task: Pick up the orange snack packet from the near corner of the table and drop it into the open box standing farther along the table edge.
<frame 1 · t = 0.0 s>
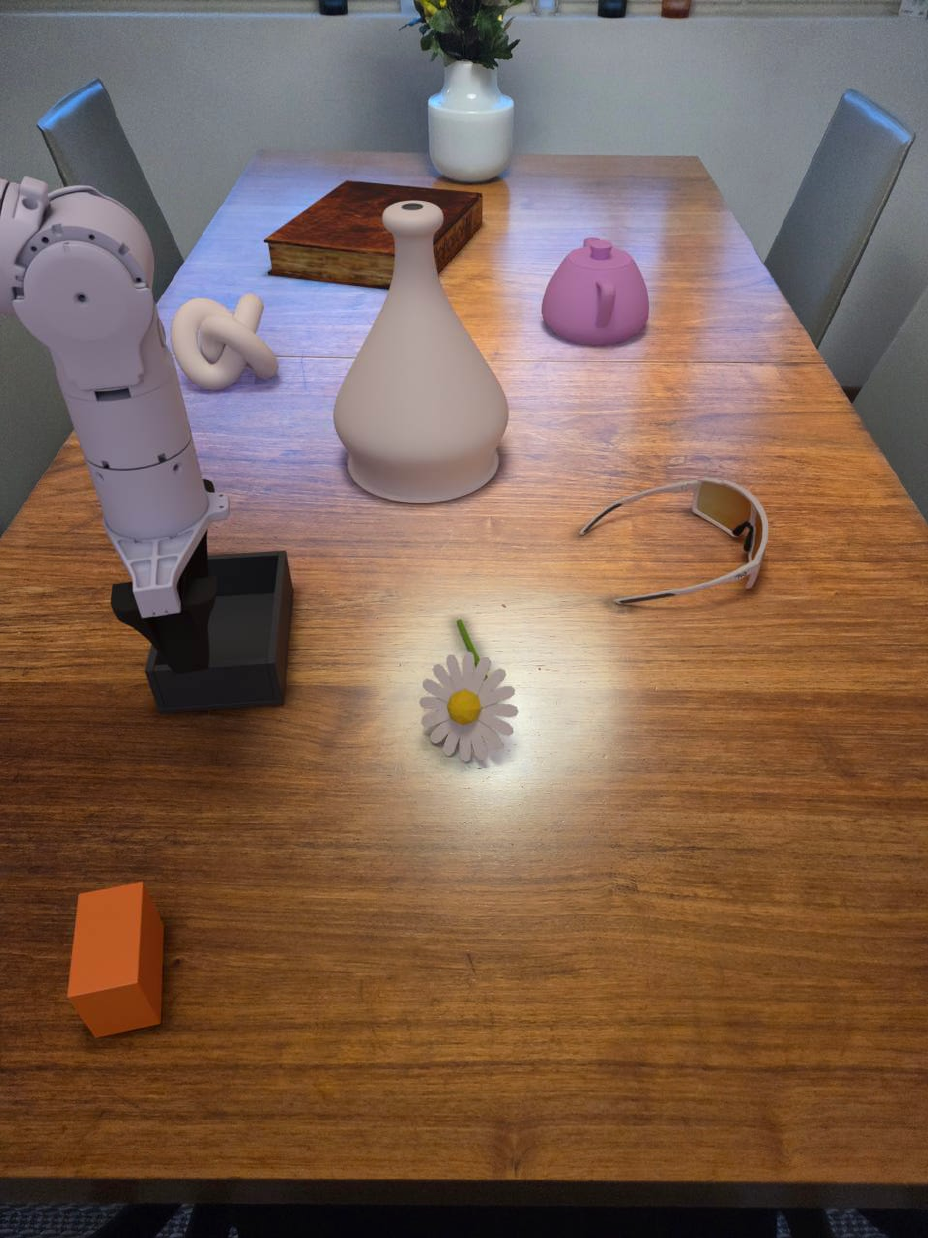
hand: (191, 626, 56), 11 cm above the table, tool pointing down, fingers open, 7 cm apart
teapot: (592, 324, 116), on the table
packet: (131, 979, 50), on the table
beige knot sculpture: (240, 379, 105), on the table
decorative flower: (451, 697, 66), on the table
book: (381, 249, 137), on the table
vase: (423, 462, 91), on the table
open box: (231, 648, 70), on the table
sunglasses: (673, 558, 79), on the table
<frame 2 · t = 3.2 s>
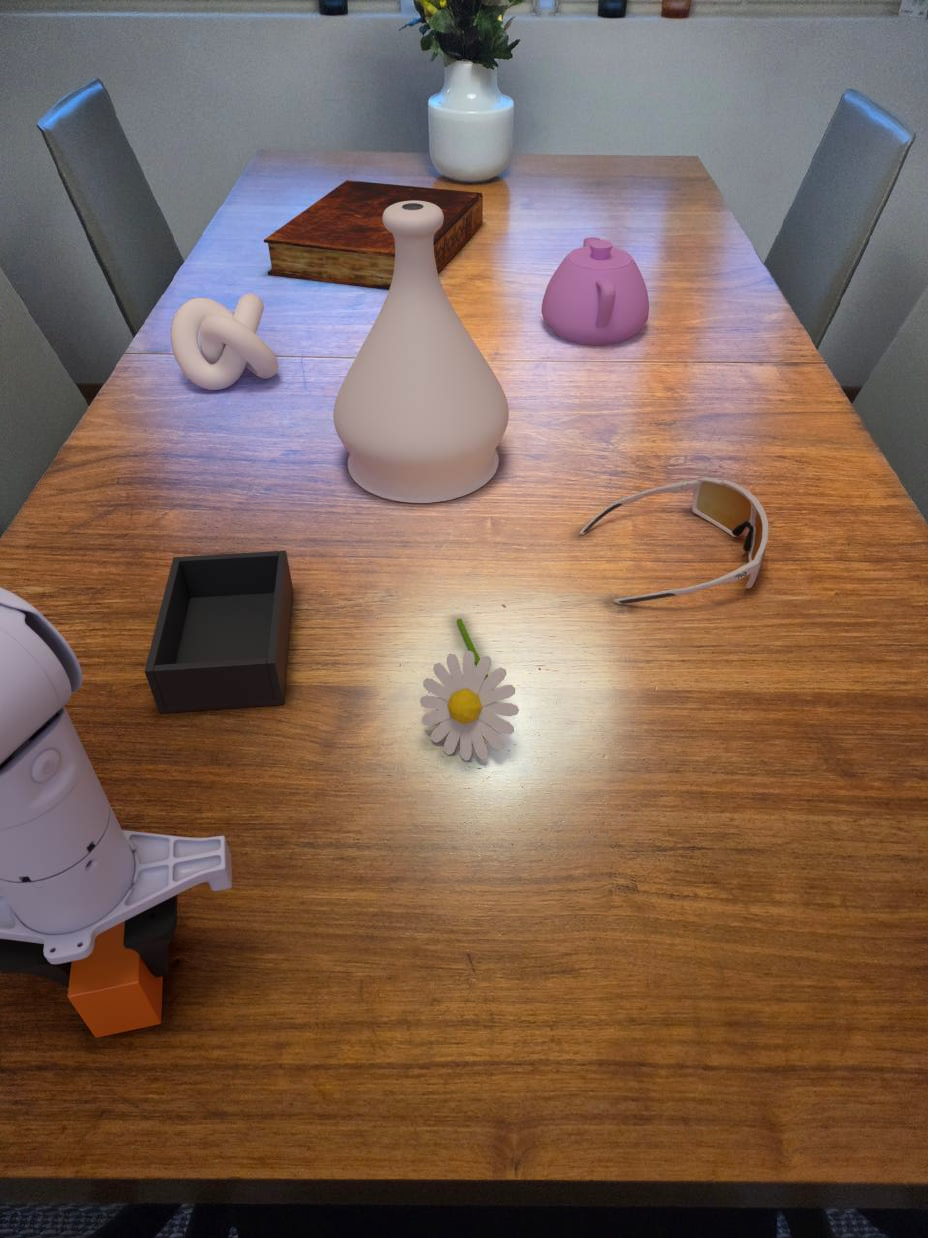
hand: (124, 968, 49), 1 cm above the table, tool pointing down, fingers closed on packet, 3 cm apart
packet: (131, 979, 50), on the table, touching gripper
everything else where it was.
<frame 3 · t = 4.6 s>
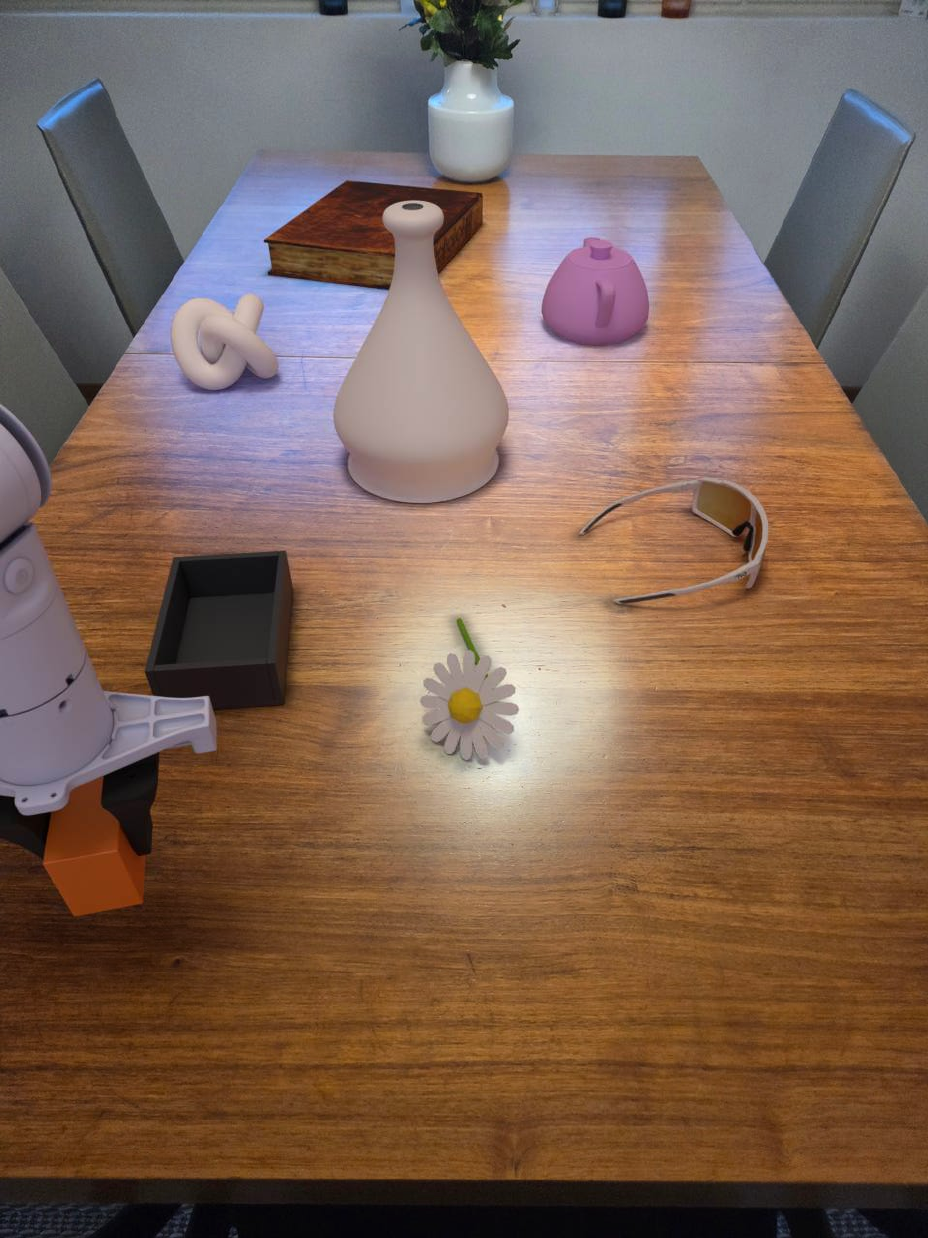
hand: (105, 846, 47), 8 cm above the table, tool pointing down, fingers closed on packet, 3 cm apart
packet: (113, 861, 48), point 7 cm above the table, touching gripper
everything else where it was.
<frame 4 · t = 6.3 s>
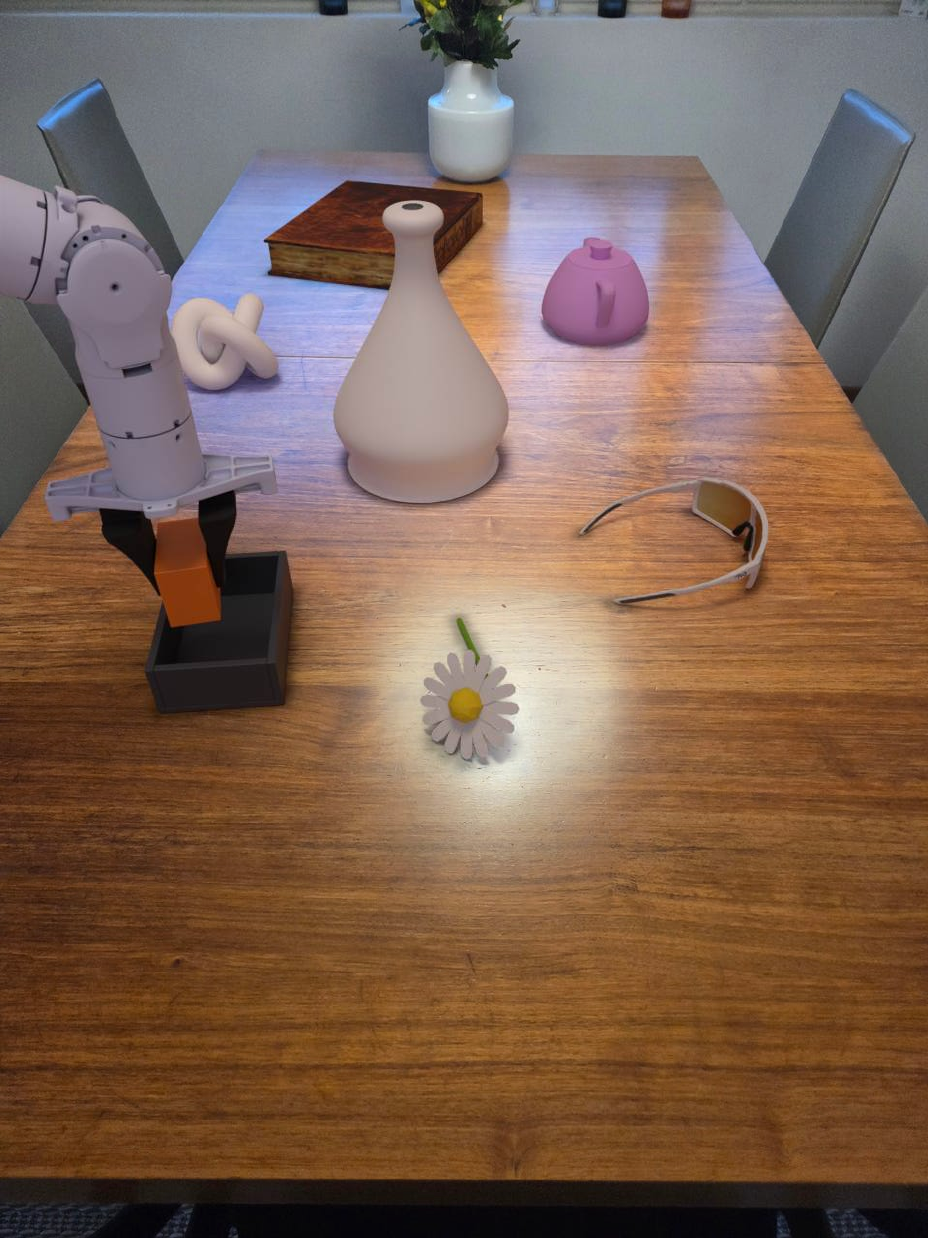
hand: (191, 582, 64), 8 cm above the table, tool pointing down, fingers closed on packet, 3 cm apart
packet: (196, 597, 65), point 7 cm above the table, touching gripper
everything else where it was.
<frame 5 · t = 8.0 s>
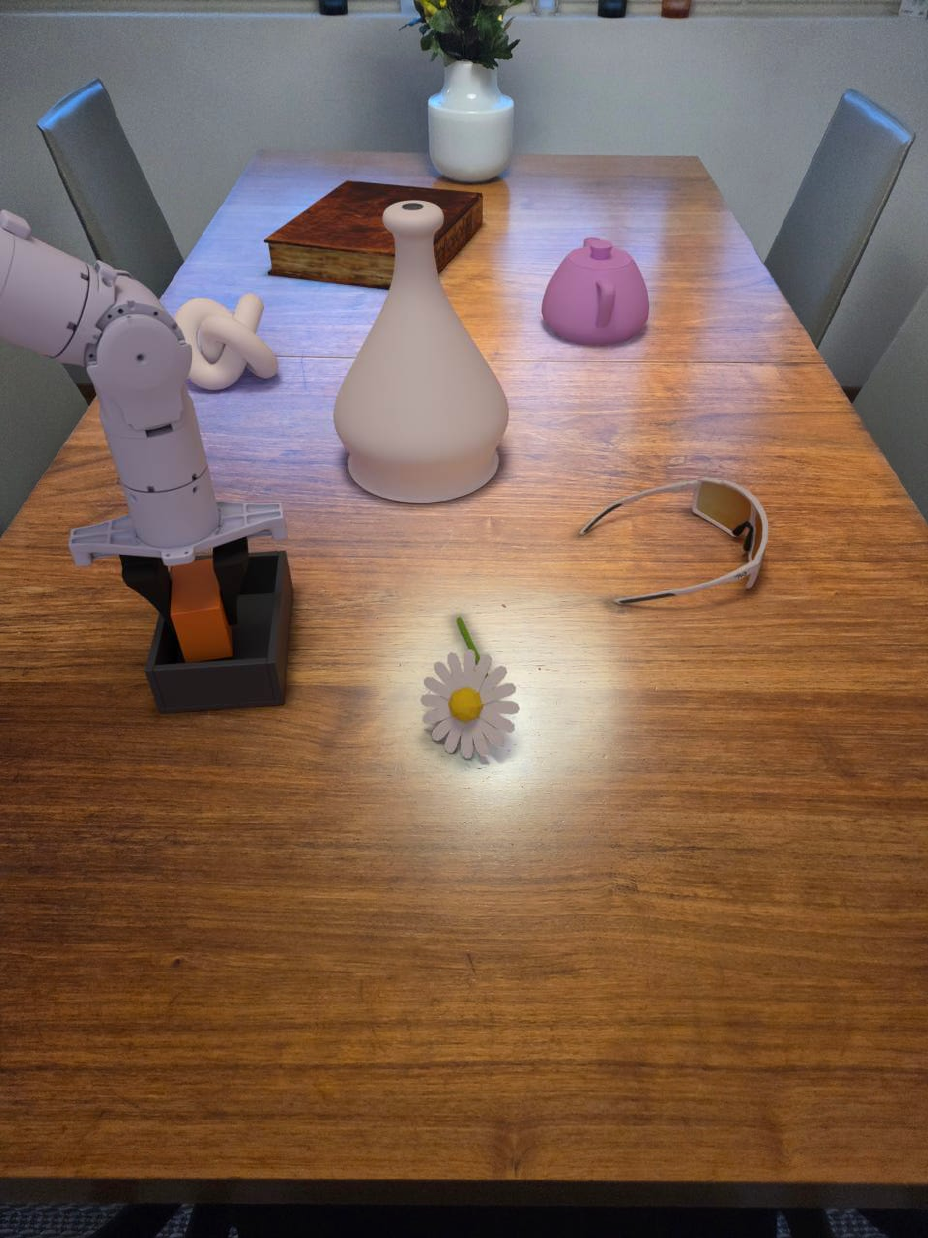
hand: (205, 620, 67), 4 cm above the table, tool pointing down, fingers closed on packet, 3 cm apart
packet: (209, 634, 68), point 2 cm above the table, touching gripper
everything else where it was.
when the fingers open (4 cm above the table, at t = 9.4 s): packet drops 2 cm, resting on open box.
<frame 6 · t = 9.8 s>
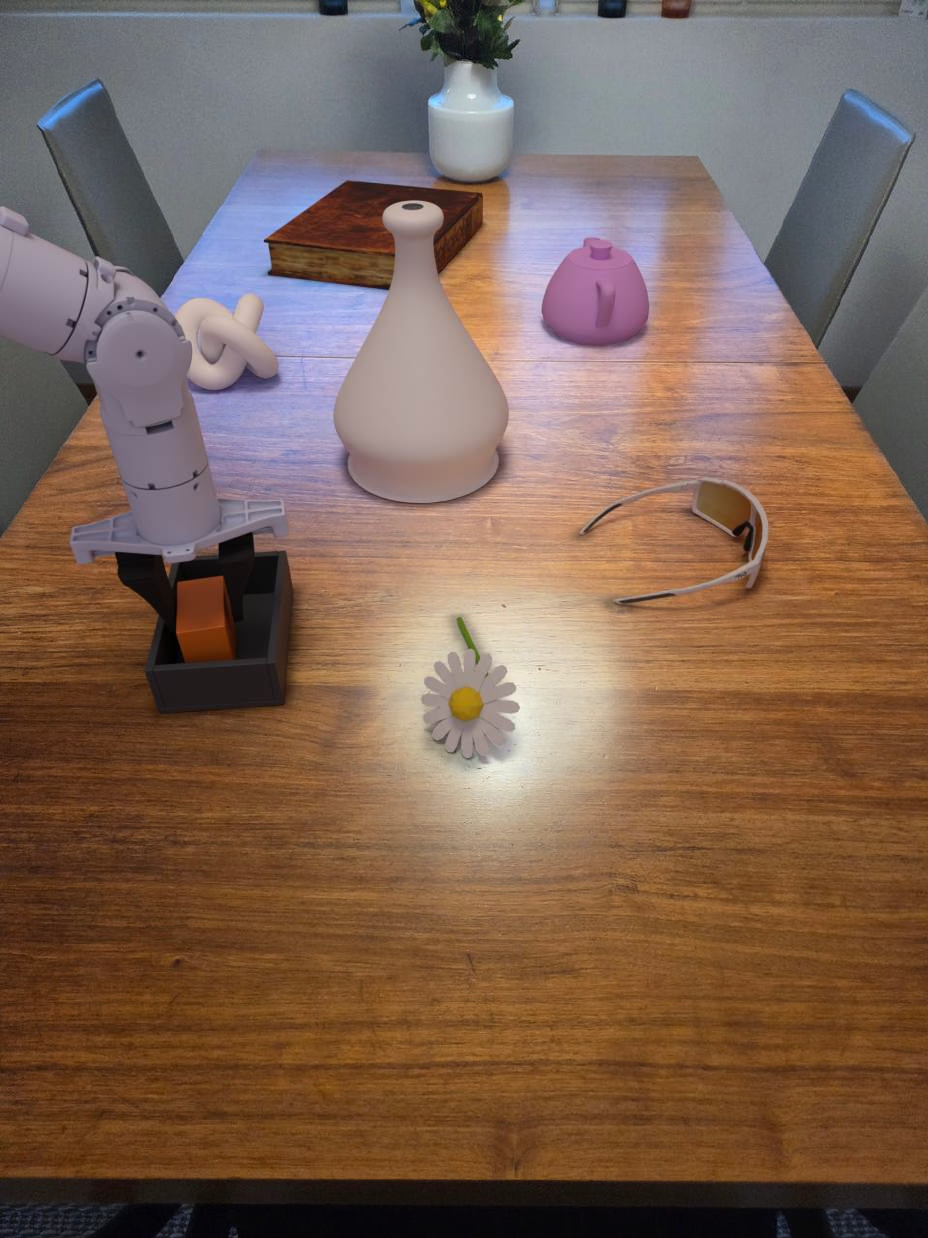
hand: (207, 618, 67), 4 cm above the table, tool pointing down, fingers open, 4 cm apart
packet: (213, 650, 69), resting on open box
everything else where it was.
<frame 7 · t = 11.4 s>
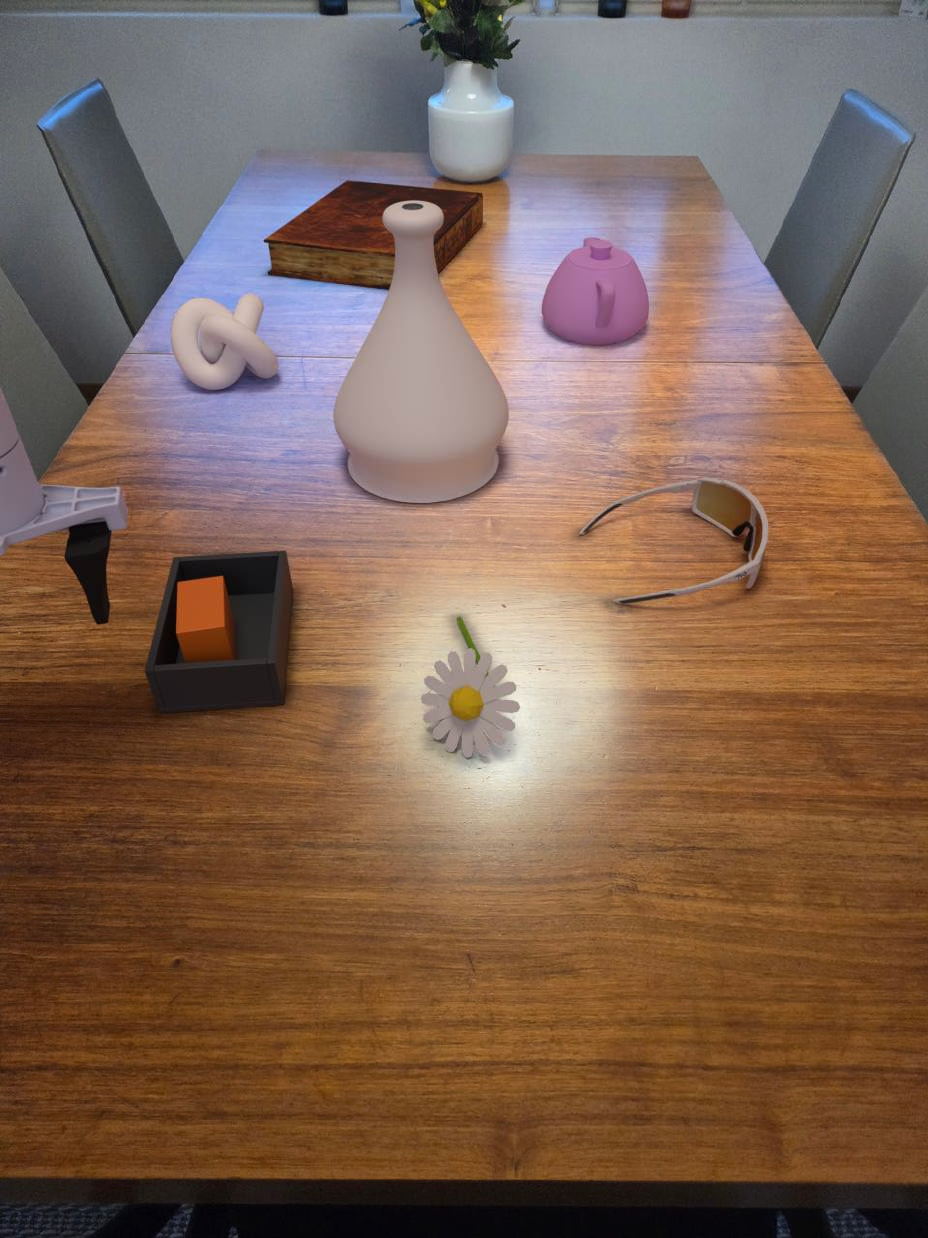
hand: (44, 623, 59), 9 cm above the table, tool pointing down, fingers open, 7 cm apart
nothing on the table moved.
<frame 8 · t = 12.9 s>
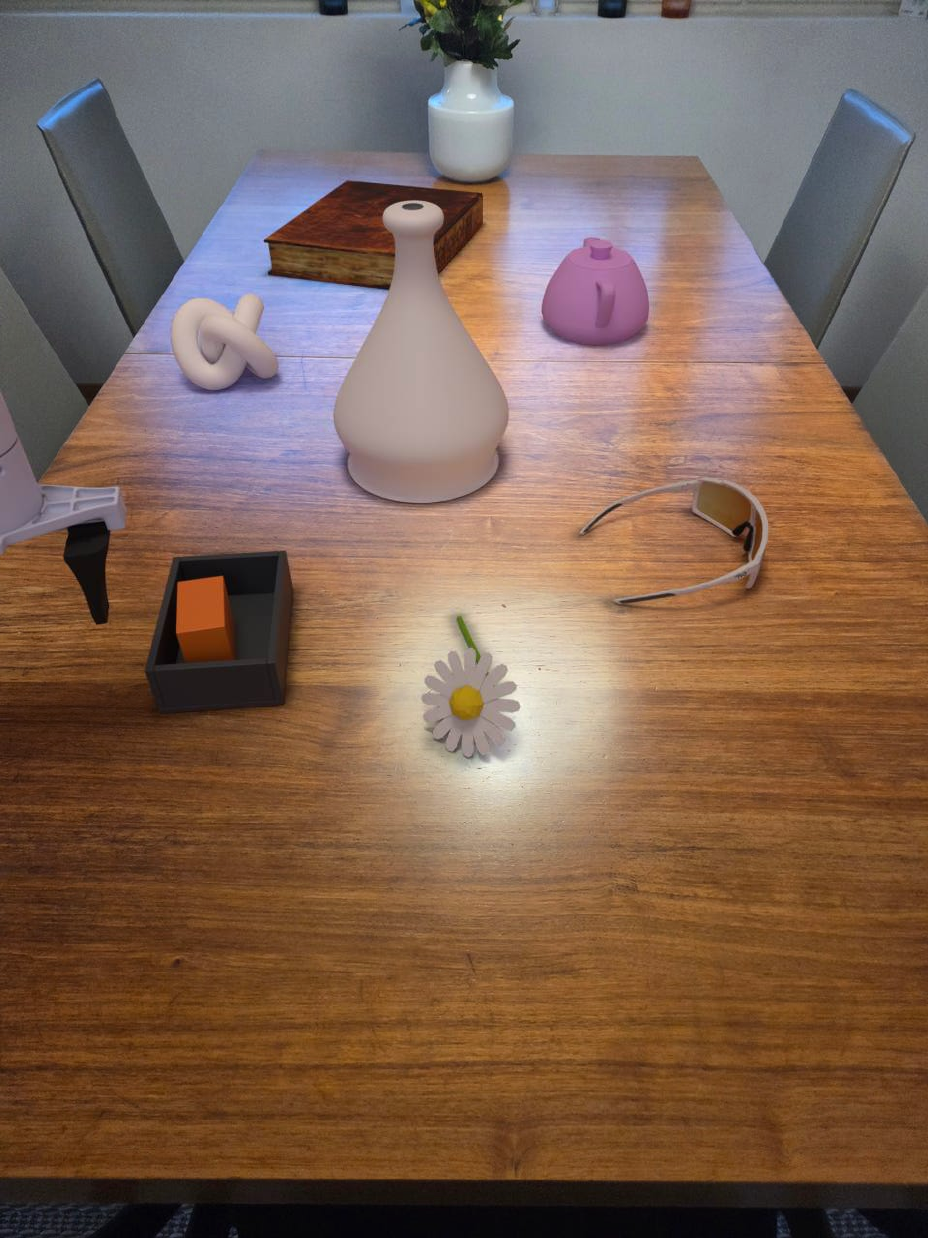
hand: (43, 623, 59), 9 cm above the table, tool pointing down, fingers open, 7 cm apart
nothing on the table moved.
at the end: packet inside the target area in the open box (1.4 cm from its centre), point 0.5 cm above the open box's base; the gripper is holding nothing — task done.
